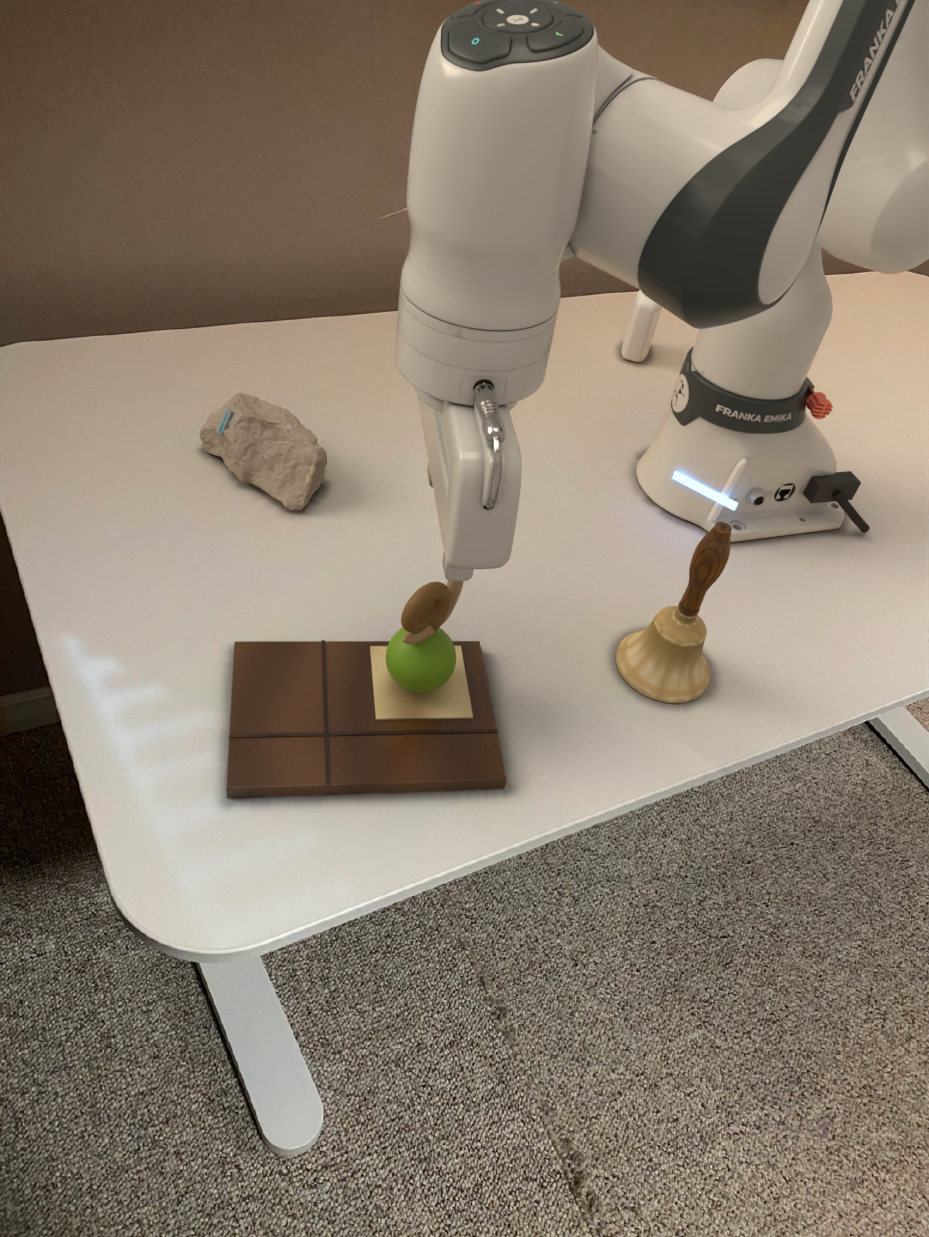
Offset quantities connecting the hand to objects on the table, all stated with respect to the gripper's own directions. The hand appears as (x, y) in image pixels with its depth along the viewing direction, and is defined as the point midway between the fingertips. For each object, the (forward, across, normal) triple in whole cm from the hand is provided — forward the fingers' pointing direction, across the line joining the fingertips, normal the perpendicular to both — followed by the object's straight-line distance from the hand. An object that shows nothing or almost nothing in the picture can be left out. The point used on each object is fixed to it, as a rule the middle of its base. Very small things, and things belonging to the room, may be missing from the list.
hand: (447, 525), depth 63 cm
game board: (+17, -3, +5) cm, 18 cm away
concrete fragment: (+17, +28, +13) cm, 36 cm away
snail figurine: (+16, 0, 0) cm, 16 cm away
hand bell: (+18, +2, -21) cm, 28 cm away
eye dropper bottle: (+18, +56, -33) cm, 68 cm away
